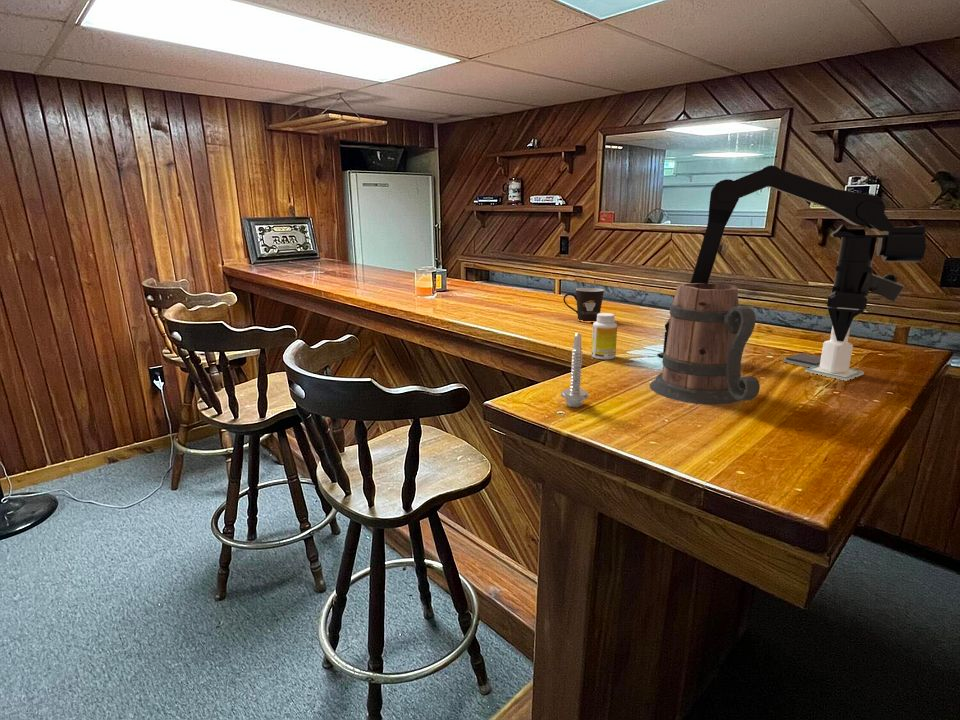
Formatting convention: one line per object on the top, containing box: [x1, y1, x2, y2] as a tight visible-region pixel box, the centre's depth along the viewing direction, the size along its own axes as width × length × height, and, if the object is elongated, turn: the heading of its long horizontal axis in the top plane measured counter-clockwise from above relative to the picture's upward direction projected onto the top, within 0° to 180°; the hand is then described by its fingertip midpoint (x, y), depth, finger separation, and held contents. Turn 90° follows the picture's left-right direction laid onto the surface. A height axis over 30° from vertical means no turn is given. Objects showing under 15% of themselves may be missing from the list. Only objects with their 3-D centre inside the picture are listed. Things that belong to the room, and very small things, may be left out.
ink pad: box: [782, 352, 821, 368], centre depth 120 cm, size 8×7×1 cm
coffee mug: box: [563, 287, 605, 321], centre depth 168 cm, size 12×9×10 cm
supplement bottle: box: [591, 312, 618, 361], centre depth 124 cm, size 6×6×10 cm
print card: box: [804, 366, 865, 382], centre depth 112 cm, size 8×8×1 cm
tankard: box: [649, 282, 761, 406], centre depth 96 cm, size 24×17×20 cm
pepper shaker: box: [820, 325, 854, 373], centre depth 111 cm, size 4×4×10 cm
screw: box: [560, 332, 590, 408], centre depth 92 cm, size 13×5×5 cm
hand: (841, 337), depth 110 cm, fingers open, 9 cm apart
